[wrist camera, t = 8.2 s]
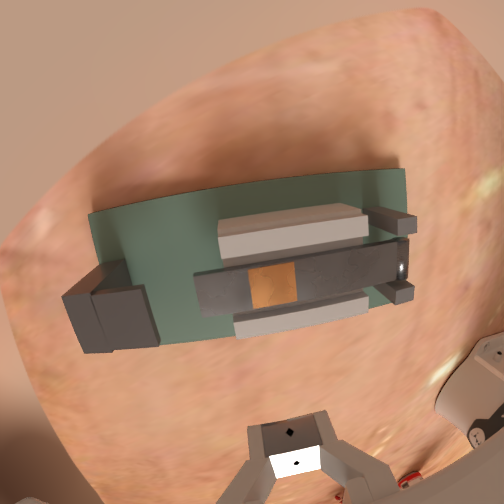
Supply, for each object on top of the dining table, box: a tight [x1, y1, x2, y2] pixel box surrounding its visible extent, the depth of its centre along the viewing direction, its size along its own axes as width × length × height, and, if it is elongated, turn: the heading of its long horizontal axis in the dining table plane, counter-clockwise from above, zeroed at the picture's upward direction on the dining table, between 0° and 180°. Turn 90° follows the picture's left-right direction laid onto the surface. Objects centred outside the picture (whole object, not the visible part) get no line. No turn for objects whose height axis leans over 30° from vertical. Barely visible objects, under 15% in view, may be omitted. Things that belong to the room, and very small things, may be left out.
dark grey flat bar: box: [193, 237, 409, 318], centre depth 19 cm, size 16×3×1 cm, turn 98°
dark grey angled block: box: [61, 259, 161, 354], centre depth 19 cm, size 6×4×7 cm
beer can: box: [398, 472, 423, 490], centre depth 35 cm, size 6×6×16 cm
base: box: [88, 168, 417, 345], centre depth 21 cm, size 28×13×7 cm, turn 98°
